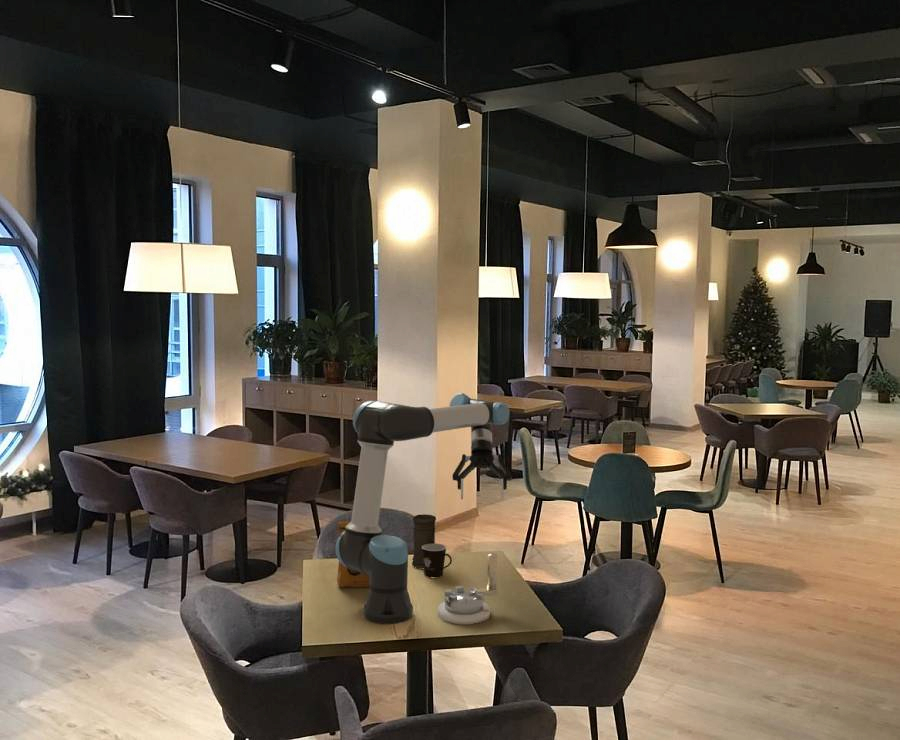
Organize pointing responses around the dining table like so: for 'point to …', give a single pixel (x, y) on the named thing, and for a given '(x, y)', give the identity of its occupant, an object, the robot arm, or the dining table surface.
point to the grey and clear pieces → (473, 592)
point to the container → (422, 536)
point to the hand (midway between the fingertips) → (482, 497)
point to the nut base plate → (463, 618)
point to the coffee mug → (434, 559)
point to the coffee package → (347, 575)
